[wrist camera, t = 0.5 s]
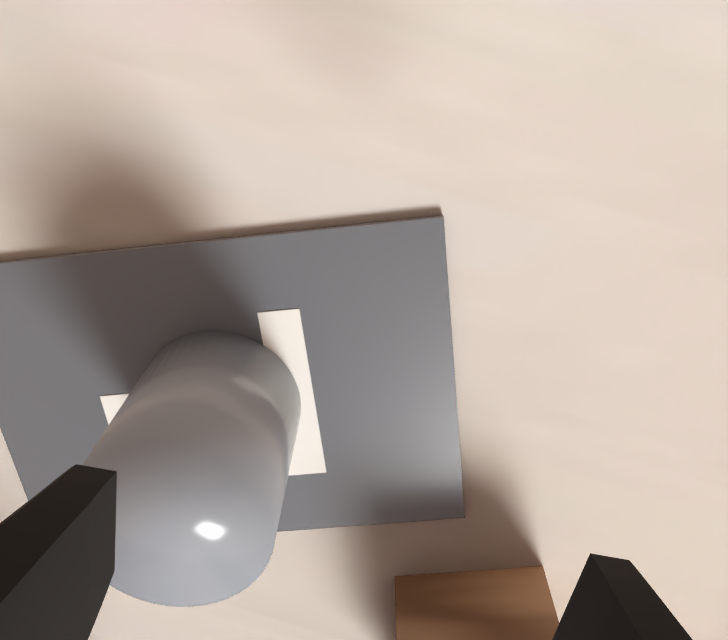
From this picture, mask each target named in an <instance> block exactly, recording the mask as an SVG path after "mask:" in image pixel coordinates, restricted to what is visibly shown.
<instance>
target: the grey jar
mask: <svg viewBox="0 0 728 640" xmlns="http://www.w3.org/2000/svg"><path fill="white" fill-rule="evenodd" d="M300 415H301V399H300V393H299V389H298V386H297V384H296V381H295V379H294V377H293V375H292V374H291V372H290V370H289V369H288V367H287V366H286V365H285V364H284V362H283V361H282V360H281V359H280V358H279V357H278V356H277V355H276V354H275V353H273V352H272V351H271V350H270V349H268V348H267V347H265V346H264V345H262V344H261V343H259V342H257V341H255V340H253V339H250V338H248V337H245V336H242V335H239V334H236V333H231V332H225V331H202V332H196V333H192V334H188V335H185V336H182V337H180V338H178V339H176V340H174V341H172V342H170V343H169V344H167V345H166V346H165V347H163V348H162V349H161V350H160V351H159V352H158V353H157V354H156V355H155V356H154V358H153V359H152V360H151V362H150V363H149V365H148V366H147V368H146V369H145V371H144V372H143V374H142V375H141V377H140V378H139V380H138V381H137V383H136V384H135V386H134V388H133V389H132V391H131V392H130V394H129V395H128V397H127V398H126V400H125V401H124V403H123V404H122V406H121V407H120V409H119V410H118V412H117V413H116V415H115V416H114V418H113V419H112V421H111V422H110V424H109V425H108V427H107V428H106V430H105V431H104V433H103V434H102V436H101V437H100V439H99V440H98V442H97V444H96V445H95V447H94V448H93V450H92V451H91V453H90V454H89V456H88V457H87V459H86V460H85V462H84V463H83V465H84V466H90V467H95V468H101V469H107V470H113V471H117V493H116V535H115V571H114V574H113V577H112V579H111V582H110V584H109V585H111V586H112V587H114V588H115V589H117V590H119V591H121V592H123V593H125V594H127V595H129V596H132V597H135V598H137V599H140V600H143V601H147V602H150V603H154V604H160V605H165V606H176V607H193V606H201V605H207V604H212V603H216V602H219V601H222V600H225V599H228V598H230V597H232V596H234V595H236V594H238V593H240V592H241V591H243V590H244V589H246V588H247V587H249V586H250V585H251V584H252V583H253V582H254V581H255V580H256V579H257V578H258V577H259V576H260V575H261V573H262V572H263V571H264V569H265V568H266V566H267V564H268V563H269V560H270V558H271V555H272V553H273V548H274V543H275V538H276V533H277V528H278V523H279V519H280V514H281V509H282V504H283V499H284V494H285V489H286V484H287V479H288V474H289V469H290V464H291V460H292V455H293V450H294V445H295V440H296V435H297V430H298V425H299V420H300Z"/></svg>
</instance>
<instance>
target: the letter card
mask: <svg viewBox="0 0 728 640" xmlns="http://www.w3.org/2000/svg"><path fill="white" fill-rule="evenodd" d="M202 331H225V332H231V333H236V334H239V335H242V336H245V337H248V338H250V339H253V340H255V341H257V342H259V343H261V344H262V345H264V346H265V347H267V348H268V349H270V350H271V351H272V352H273V353H275V354H276V355H277V356H278V357H279V358H280V359H281V360H282V361H283V362H284V364H285V365H286V366H287V367H288V369H289V370H290V372H291V374H292V375H293V377H294V379H295V381H296V384H297V386H298V389H299V393H300V399H301V415H300V420H299V425H298V430H297V435H296V440H295V445H294V450H293V455H292V460H291V464H290V469H289V474H288V479H287V484H286V489H285V494H284V499H283V504H282V509H281V514H280V519H279V523H278V528H277V532H280V531H293V530H307V529H320V528H333V527H347V526H360V525H373V524H387V523H400V522H413V521H427V520H440V519H454V518H465V513H464V499H463V485H462V471H461V457H460V443H459V429H458V415H457V401H456V387H455V373H454V358H453V344H452V330H451V316H450V302H449V288H448V274H447V260H446V246H445V232H444V218H443V215H438V216H429V217H419V218H410V219H400V220H391V221H381V222H372V223H362V224H353V225H343V226H334V227H324V228H315V229H305V230H296V231H286V232H277V233H267V234H258V235H248V236H239V237H229V238H220V239H210V240H201V241H191V242H182V243H172V244H163V245H153V246H144V247H134V248H125V249H115V250H106V251H96V252H87V253H77V254H68V255H58V256H49V257H39V258H30V259H20V260H11V261H1V262H0V428H1V431H2V433H3V436H4V439H5V441H6V444H7V446H8V449H9V452H10V454H11V457H12V459H13V462H14V465H15V467H16V470H17V472H18V475H19V478H20V480H21V483H22V485H23V488H24V491H25V493H26V496H27V499H28V501H29V500H30V499H32V498H33V497H34V496H35V495H37V494H38V493H39V492H40V491H42V490H43V489H44V488H45V487H47V486H48V485H49V484H50V483H52V482H53V481H54V480H55V479H57V478H58V477H59V476H60V475H62V474H63V473H64V472H65V471H67V470H68V469H69V468H71V467H72V466H74V465H76V464H78V465H83V463H84V462H85V460H86V459H87V457H88V456H89V454H90V453H91V451H92V450H93V448H94V447H95V445H96V444H97V442H98V440H99V439H100V437H101V436H102V434H103V433H104V431H105V430H106V428H107V427H108V425H109V424H110V422H111V421H112V419H113V418H114V416H115V415H116V413H117V412H118V410H119V409H120V407H121V406H122V404H123V403H124V401H125V400H126V398H127V397H128V395H129V394H130V392H131V391H132V389H133V388H134V386H135V384H136V383H137V381H138V380H139V378H140V377H141V375H142V374H143V372H144V371H145V369H146V368H147V366H148V365H149V363H150V362H151V360H152V359H153V358H154V356H155V355H156V354H157V353H158V352H159V351H160V350H161V349H162V348H163V347H165V346H166V345H167V344H169V343H170V342H172V341H174V340H176V339H178V338H180V337H182V336H185V335H188V334H192V333H196V332H202Z"/></svg>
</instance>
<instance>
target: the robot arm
mask: <svg viewBox="0 0 728 640" xmlns="http://www.w3.org/2000/svg"><path fill="white" fill-rule="evenodd" d="M116 493H117V471H113V470H107V469H101V468H95V467H90V466H84V465H78V464H76V465H74V466H72V467H71V468H69V469H68V470H67V471H65V472H64V473H63V474H62V475H60V476H59V477H58V478H57V479H55V480H54V481H53V482H52V483H50V484H49V485H48V486H47V487H45V488H44V489H43V490H42V491H40V492H39V493H38V494H37V495H35V496H34V497H33V498H32V499H30V500H29V501H28V502H27V503H25V504H24V505H23V506H22V507H20V508H19V509H18V510H16V511H15V512H14V513H13V514H11V515H10V516H9V517H8V518H6V519H5V520H4V521H2V522H1V523H0V640H88V638H89V635H90V633H91V630H92V628H93V625H94V623H95V620H96V618H97V615H98V613H99V610H100V608H101V605H102V603H103V600H104V598H105V595H106V592H107V590H108V587H109V584H110V582H111V579H112V577H113V574H114V571H115V535H116ZM552 640H692V639H691V637H690V636H689V635H688V633H687V632H686V631H685V630H684V628H683V627H682V626H681V625H680V623H679V622H678V621H677V619H676V618H675V617H674V616H673V614H672V613H671V612H670V611H669V609H668V608H667V607H666V605H665V604H664V603H663V602H662V600H661V599H660V598H659V596H658V595H657V594H656V593H655V591H654V590H653V589H652V588H651V586H650V585H649V584H648V582H647V581H646V580H645V579H644V577H643V576H642V575H641V574H640V573H639V571H638V570H637V569H636V568H635V566H634V565H633V564H632V563H631V562H630V561H629V560H624V559H619V558H613V557H607V556H601V555H596V554H590V555H589V557H588V560H587V562H586V564H585V567H584V569H583V571H582V573H581V576H580V578H579V580H578V582H577V585H576V587H575V589H574V591H573V594H572V596H571V598H570V600H569V603H568V605H567V607H566V609H565V612H564V614H563V616H562V618H561V621H560V623H559V625H558V628H557V630H556V632H555V634H554V637H553V639H552Z"/></svg>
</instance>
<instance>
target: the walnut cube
mask: <svg viewBox="0 0 728 640" xmlns="http://www.w3.org/2000/svg"><path fill="white" fill-rule="evenodd" d="M395 600H396V640H552V639H553V637H554V634H555V632H556V630H557V628H558V625H559V621H558V618H557V614H556V611H555V607H554V604H553V600H552V597H551V593H550V590H549V586H548V583H547V579H546V576H545V572H544V569H543V566H536V567H522V568H507V569H493V570H478V571H464V572H449V573H435V574H420V575H406V576H395Z"/></svg>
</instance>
